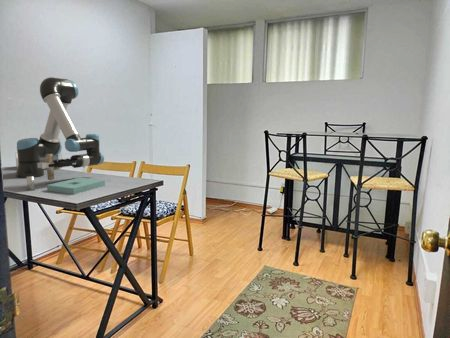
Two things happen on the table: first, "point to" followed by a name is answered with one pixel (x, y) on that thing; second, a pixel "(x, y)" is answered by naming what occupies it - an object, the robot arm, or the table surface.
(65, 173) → the table surface
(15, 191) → the table surface
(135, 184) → the table surface
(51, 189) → the hole plate
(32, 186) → the short pin
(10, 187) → the table surface
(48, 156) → the tall pin
